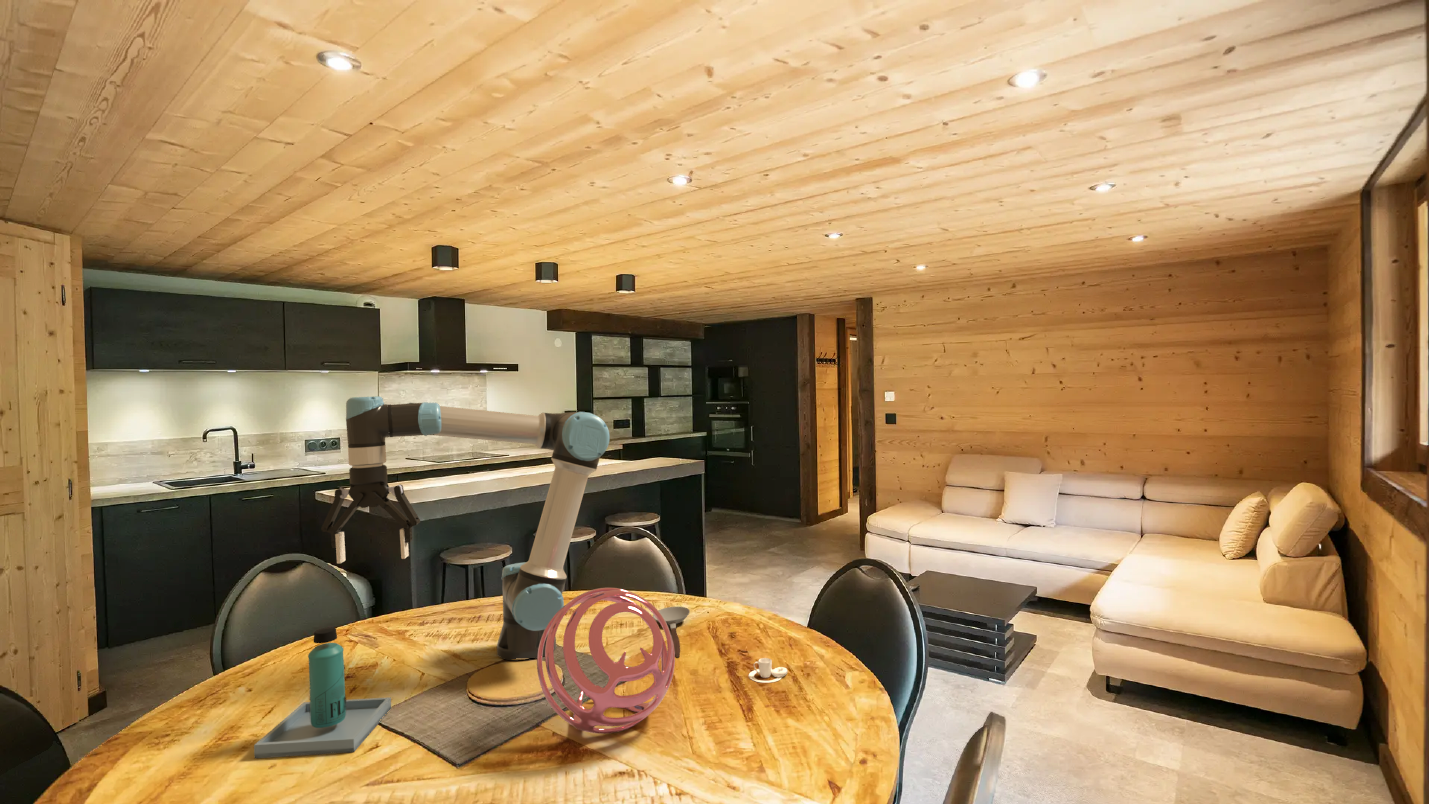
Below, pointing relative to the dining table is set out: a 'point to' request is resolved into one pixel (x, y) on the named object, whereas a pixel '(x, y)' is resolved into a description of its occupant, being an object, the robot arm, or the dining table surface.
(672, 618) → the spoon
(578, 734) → the dining table surface
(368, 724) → the tray
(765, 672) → the teacup and saucer
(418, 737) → the dining table surface
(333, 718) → the beverage bottle
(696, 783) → the dining table surface
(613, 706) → the pink openwork sphere
